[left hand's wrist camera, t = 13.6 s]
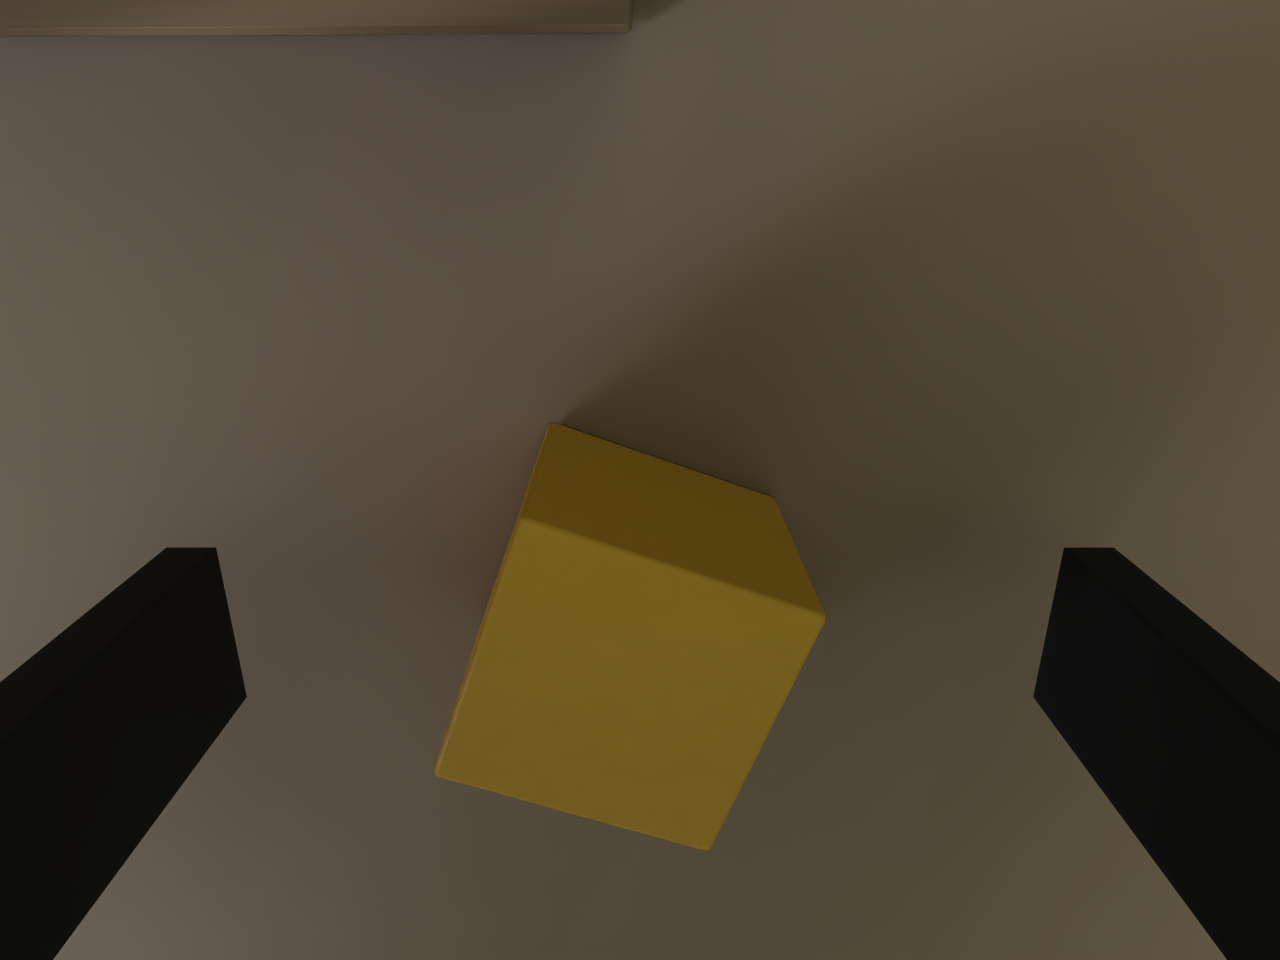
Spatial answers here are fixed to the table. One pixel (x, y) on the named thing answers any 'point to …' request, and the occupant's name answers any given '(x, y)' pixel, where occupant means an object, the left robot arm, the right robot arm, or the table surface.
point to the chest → (310, 17)
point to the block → (632, 643)
